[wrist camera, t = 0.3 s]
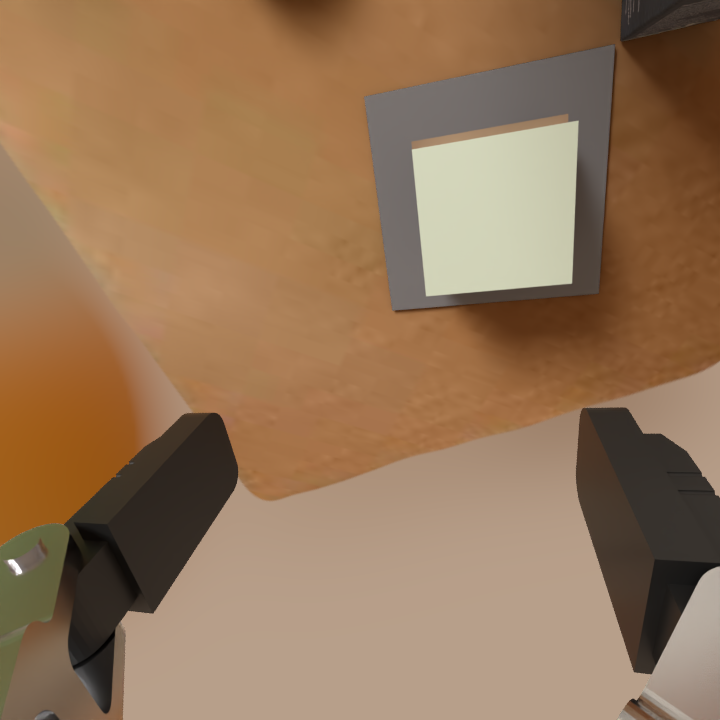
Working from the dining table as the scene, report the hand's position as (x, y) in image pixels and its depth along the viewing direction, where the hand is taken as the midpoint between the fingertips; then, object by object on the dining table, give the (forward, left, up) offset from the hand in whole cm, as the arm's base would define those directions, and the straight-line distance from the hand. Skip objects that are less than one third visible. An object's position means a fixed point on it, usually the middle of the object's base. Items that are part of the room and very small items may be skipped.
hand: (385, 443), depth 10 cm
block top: (-2, +3, -23) cm, 23 cm away
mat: (-2, +3, -28) cm, 28 cm away
